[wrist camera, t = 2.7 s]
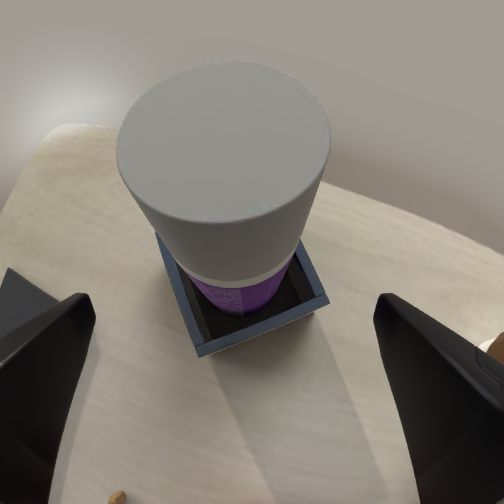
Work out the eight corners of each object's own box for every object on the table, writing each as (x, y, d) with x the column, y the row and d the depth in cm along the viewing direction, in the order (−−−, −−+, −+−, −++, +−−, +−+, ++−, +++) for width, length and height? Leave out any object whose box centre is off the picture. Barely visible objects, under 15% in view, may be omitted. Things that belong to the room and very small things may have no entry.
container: (288, 299, 20) (382, 176, 5) (222, 329, 19) (142, 277, 5) (258, 237, 21) (272, 42, 7) (194, 265, 20) (97, 100, 6)
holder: (315, 311, 19) (330, 303, 16) (208, 355, 18) (198, 357, 15) (270, 214, 21) (274, 186, 18) (170, 252, 21) (154, 231, 17)
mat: (11, 269, 20) (7, 267, 19) (91, 320, 19) (87, 319, 18) (-26, 497, 12) (-29, 498, 11) (39, 555, 11) (36, 557, 10)
